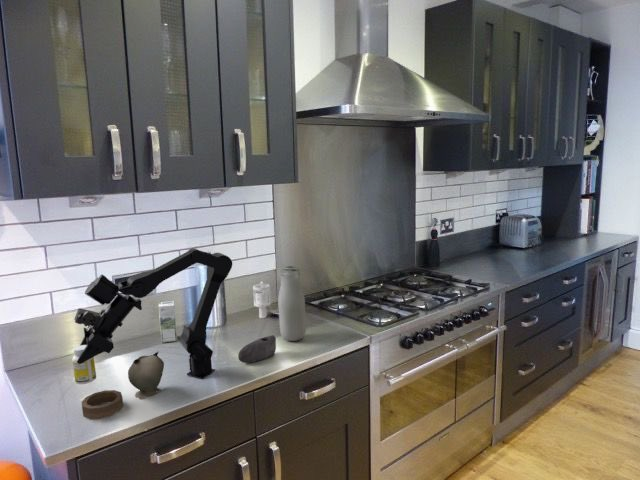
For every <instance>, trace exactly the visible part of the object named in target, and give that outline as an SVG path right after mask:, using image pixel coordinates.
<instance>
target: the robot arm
mask: <svg viewBox="0 0 640 480" xmlns="http://www.w3.org/2000/svg"><path fill="white" fill-rule="evenodd" d="M195 264H201V265H204V266H205V267H206V281H205V284H204V286H203V289H202V292H201V294H200V299H199V301H198V304H197V308H196V310H195V313H194V316H193V319H192V322H190V324H189V325H188V326H187V325H183V327H182V328H183V329H182V332H181V335H180V336H179V339H180V344H181V345H182V347H183V349H184V350H185V351H186V352H187V353H188V354H189V356H188V357H189V359H188V364H189V372H187V373H186V375H187V376H189V377H193V378H197V379H204V378H206V377H208V376H209V375H211V374H214V373H215V372H216V369H215V368H213V365H212V363H213V362H212V357H213V353H214V351H213V350H212V349H211V348H210V347H209V345H207V344H206V343H207V327H208V323H209V319H210V317H211V313H212V312H213V308H214V305H215V303H216V302H215V301H216V299H217V297H218V294H219V291H220V288H221V284H222V283H223V282H224V281H225V280H226V279H227V277H228V276H229V274H230V272H231V270H232V267H233V261H232V259H231V257H229V256H227V255H225V254H224V253H221V252H213V253H210V252H207V251H203V250H199V249H197V248H190V249H188V251H186V252H184V253H182V254H180V255H178V256H176V257H174V258H172V259H171V260H169V261H167V262H165V263H163V264H162V265H159V266H158V267H156V268H153V269H151V270H146V271H141V272H138V273H136V274H133V275H131V276H129V277H128V278H127V279H126V280H123V281H119V282H116V283H115V282H114V281H112V280H110V279H109V278H107V276H105V275H104V274H100V275H99V276H98V277H96V278H95V279H94V280H93V281H91V282H90V283H89V285H88V286H87V288H86V289H85V292H84V294H85V296H87V297H89V298H91V299H92V300H93V301H96V302H97V303H99V304H100V305H101V306H104V305H108V306H107V307H106V309H104V308H102V309H101V310H100V311H99V312H98V311H94V310H90V309H86V308H85V309H84V308H77V311H76V314H75V317H74V319H73V320H74V323H75V324H78V325H83V326H84V327H83V334H84V337H83V338H82V341H81V343H80V345H79V346H81V345H87V346H86V347H85V349H84V350H83V352H82V354H81V355H80V357H79V359H78V361H77V363H79V364H81V363H83V362H85V361H87V360H89V359H91V358H92V357H94V358H95V357H96V356H99V355H100V354H102V353H106V354H110V353H111V352H112V350H113V349H114V342H113V340H112V338H113V337H114V335H113V334H114V332H115V331H116V330H117V329H118V328H121V327H122V326H123V324H124V323H123V321H124V320H125V319H126V318H127V316H128V315H129V314H131V312H132V311H133V309H134V308H136V309H138V310H139V311H142V310H143V308H142V300H141V299H142V298H145V297H147V296H148V295H149V294H150V293H152V292H153V291H154V290H156V288H158V286H159V285H160V284H162V283H163V282H164V281H167V280H168V279H170V278H171V277H174V276H175V275H178V274H179V273H181V272H183V271H185V270H186V269H188V268H190V267H192V266H194V265H195ZM136 298H137V299H136Z"/></svg>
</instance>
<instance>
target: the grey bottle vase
mask: <svg viewBox="0 0 640 480" xmlns="http://www.w3.org/2000/svg"><path fill="white" fill-rule="evenodd" d="M279 274H280V276H279V277H280V286H279V290H278V291H279V293H278V295H277V296H278V297H277V305H278V317H279V320H278V321H279V331H280V335H281V337H282V339H284V340H286V341H288V342H297V341H299V340H301V339H303V338H304V336H305V335H306V327H307V326H306V325H307V324H306V300H305V294H304V291H303V288H302V284H301V280H300V277H301V273H300V268H299V267H296V266H293V265H288V266H284V267H282V268H281V270H280V273H279Z"/></svg>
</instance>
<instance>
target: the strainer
mask: <svg viewBox="0 0 640 480" xmlns="http://www.w3.org/2000/svg"><path fill="white" fill-rule="evenodd" d="M252 291H253V292H252V294H253V307H256V308H258V317H259V319H266V318H267V307H269V306H271V304H272V303H271V287H270V284H268V283H264V281H260V282H259V283H257V284H254V285H253V286H252Z"/></svg>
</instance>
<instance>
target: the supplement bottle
mask: <svg viewBox="0 0 640 480" xmlns="http://www.w3.org/2000/svg"><path fill="white" fill-rule="evenodd" d="M86 346H87V345H81V346H80V345H78V346H75V347H74V348H73V354H74V355H73V357H72V359H71V361H72V363H71V364H72V369H73V374H74V375H73V376H74V382H75V384H77V385H86V384H89V383H90V384H91V383H93V382H94V381H95V380H96V379H97V372H96V365H95V364H96V363H95V356H94V357H92V358H91V359H89V360H87V361H85V362H83V363H81V364H79V363H77V361H78V359H79V357H80V355H81V354H82V352H83V350H84V349H85V347H86Z"/></svg>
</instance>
